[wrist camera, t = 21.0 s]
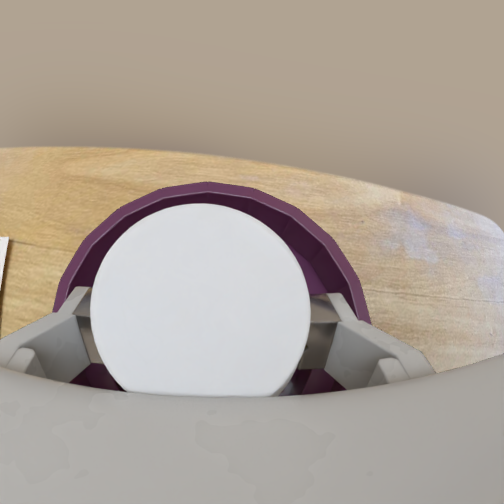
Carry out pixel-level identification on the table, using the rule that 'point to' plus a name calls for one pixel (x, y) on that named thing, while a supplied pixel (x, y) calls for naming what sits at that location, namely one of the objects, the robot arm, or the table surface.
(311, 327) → the robot arm
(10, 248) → the table surface
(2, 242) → the paper
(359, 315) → the bowl
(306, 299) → the supplement bottle
